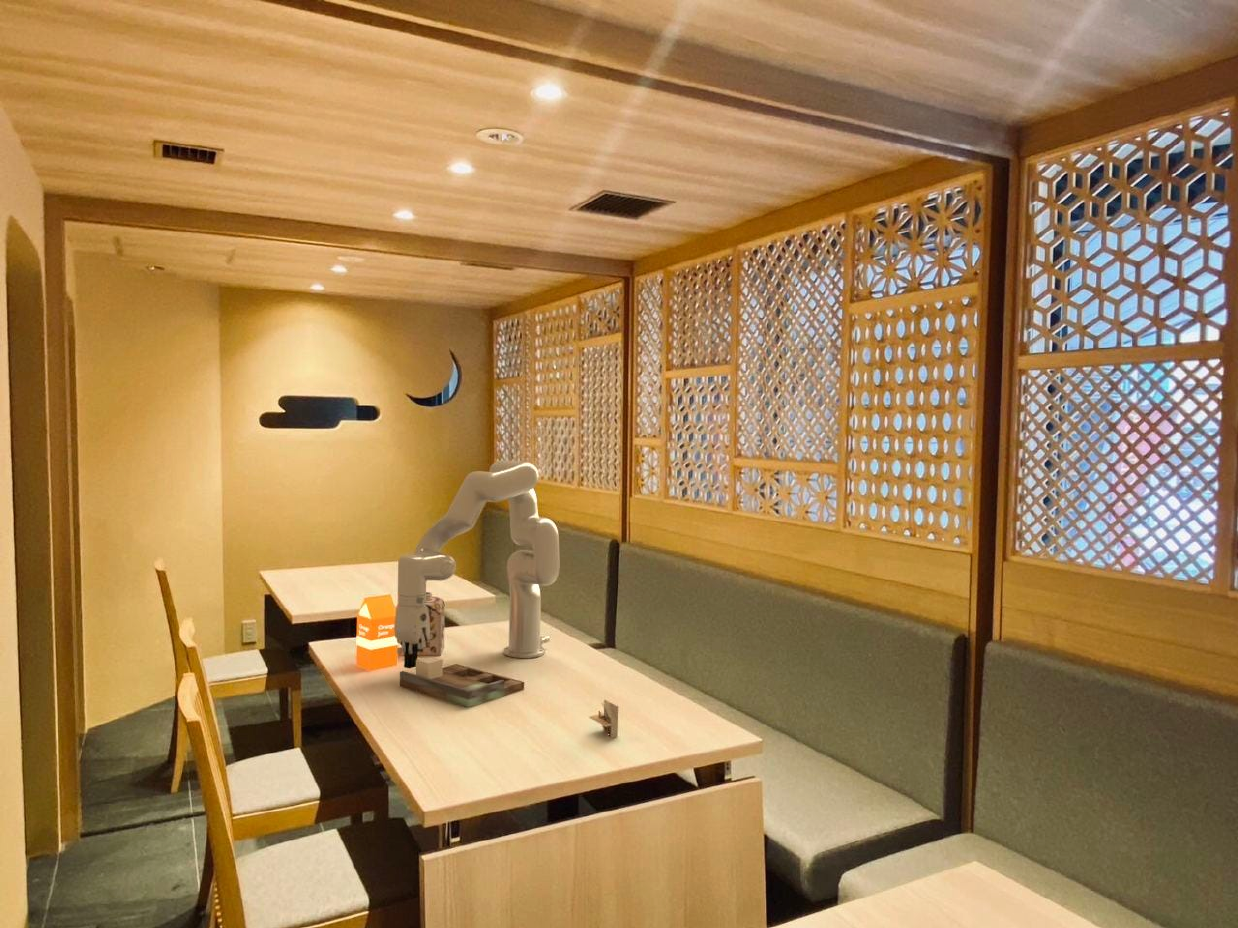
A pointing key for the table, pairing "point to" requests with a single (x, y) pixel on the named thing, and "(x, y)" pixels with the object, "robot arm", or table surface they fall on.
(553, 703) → the table surface
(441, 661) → the block
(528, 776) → the table surface
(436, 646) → the decorative jar
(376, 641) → the orange juice
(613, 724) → the architectural model
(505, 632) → the table surface
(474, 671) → the board
